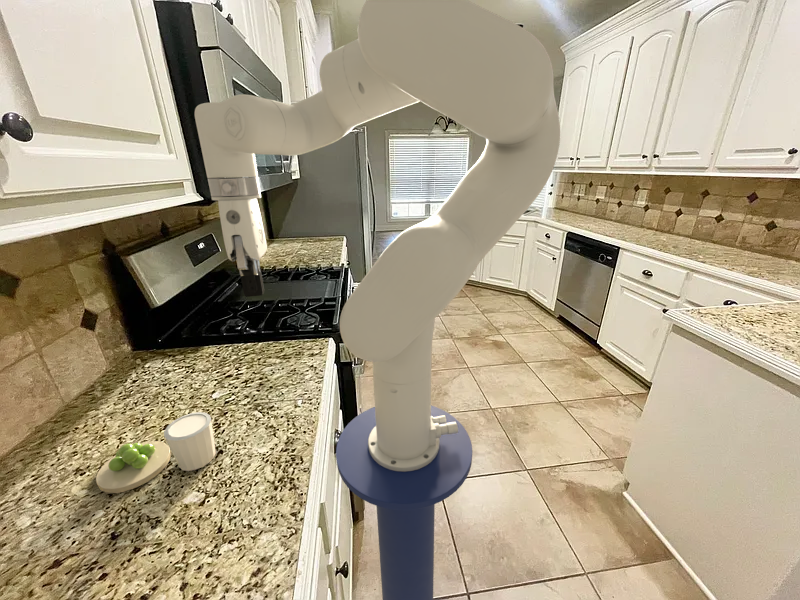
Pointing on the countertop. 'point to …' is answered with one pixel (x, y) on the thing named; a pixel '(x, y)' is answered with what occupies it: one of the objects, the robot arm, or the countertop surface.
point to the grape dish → (133, 474)
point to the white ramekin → (191, 440)
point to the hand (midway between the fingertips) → (254, 294)
